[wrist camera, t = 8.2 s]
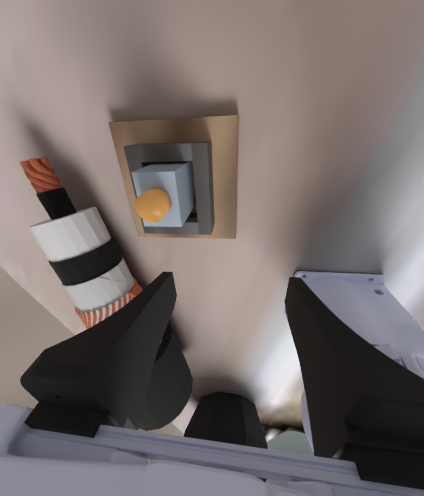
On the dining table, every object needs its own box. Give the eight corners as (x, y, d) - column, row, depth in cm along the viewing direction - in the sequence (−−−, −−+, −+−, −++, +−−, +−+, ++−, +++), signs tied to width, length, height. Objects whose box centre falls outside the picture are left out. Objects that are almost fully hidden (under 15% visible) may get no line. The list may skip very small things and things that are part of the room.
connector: (192, 159, 18) (167, 176, 12) (196, 203, 20) (176, 236, 14) (160, 160, 18) (119, 177, 12) (166, 203, 20) (135, 235, 14)
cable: (101, 153, 24) (74, 136, 15) (186, 351, 37) (199, 407, 28) (6, 177, 22) (-93, 173, 13) (131, 376, 35) (126, 446, 26)
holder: (238, 115, 16) (237, 113, 14) (236, 234, 22) (235, 251, 19) (114, 122, 18) (89, 121, 15) (142, 232, 24) (127, 247, 21)
